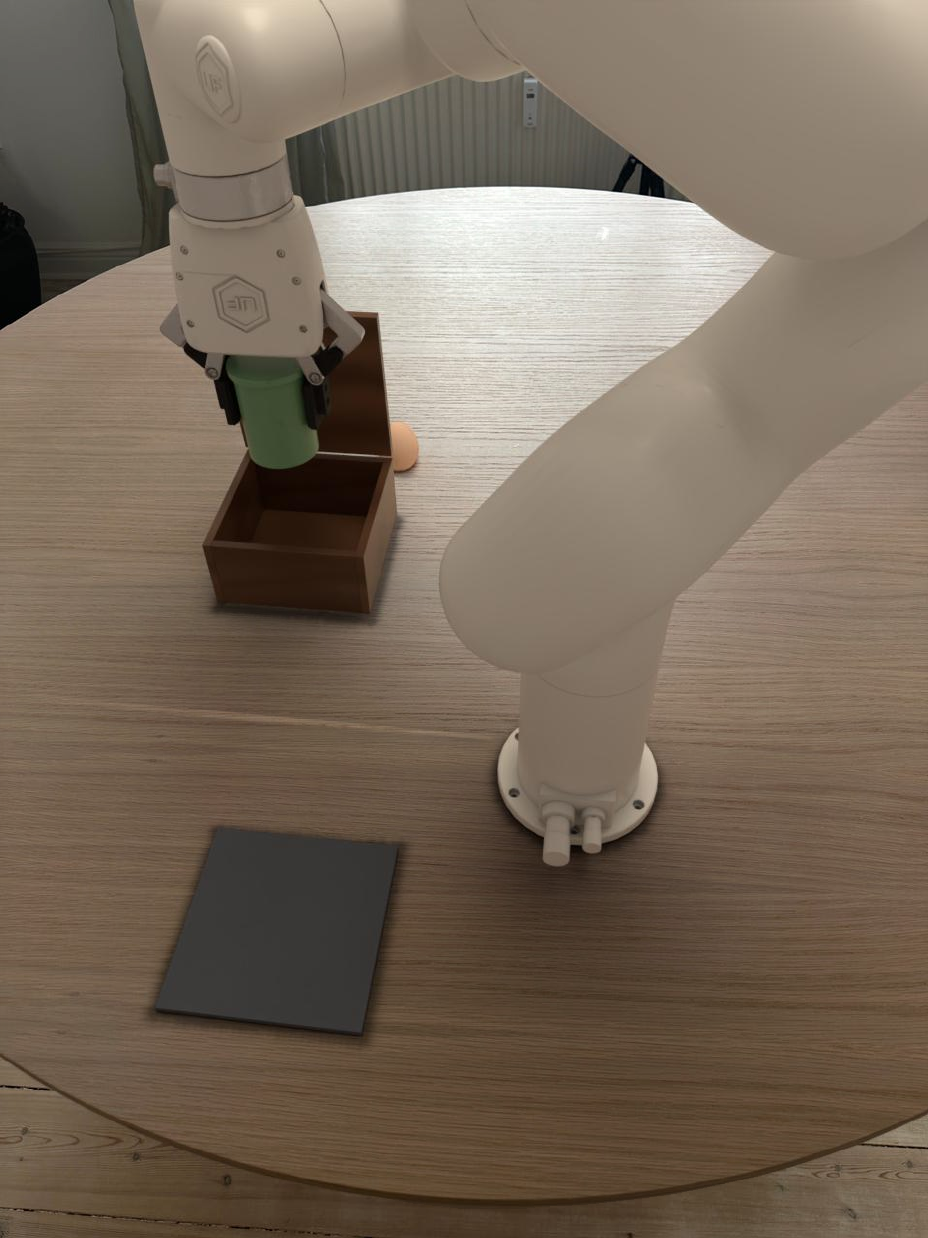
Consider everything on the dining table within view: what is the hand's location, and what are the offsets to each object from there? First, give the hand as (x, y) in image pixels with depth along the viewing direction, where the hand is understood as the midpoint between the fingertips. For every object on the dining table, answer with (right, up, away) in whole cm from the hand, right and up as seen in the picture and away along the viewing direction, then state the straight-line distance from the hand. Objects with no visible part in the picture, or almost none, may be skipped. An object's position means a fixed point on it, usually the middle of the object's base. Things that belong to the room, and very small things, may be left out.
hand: (277, 416), depth 77 cm
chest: (0, -10, +19) cm, 22 cm away
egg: (+8, 0, +30) cm, 31 cm away
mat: (+2, -38, -8) cm, 39 cm away
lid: (0, +5, +13) cm, 14 cm away
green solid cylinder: (0, -2, +2) cm, 3 cm away
